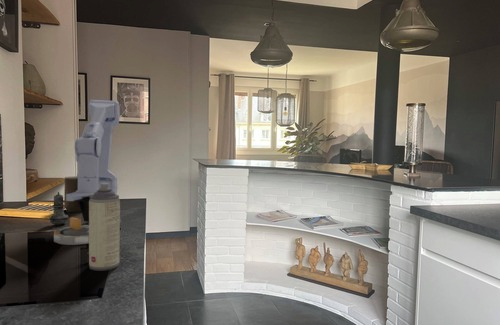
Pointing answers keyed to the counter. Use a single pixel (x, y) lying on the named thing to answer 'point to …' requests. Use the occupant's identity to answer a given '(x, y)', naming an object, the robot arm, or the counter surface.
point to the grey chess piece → (58, 211)
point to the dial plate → (70, 238)
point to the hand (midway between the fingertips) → (88, 221)
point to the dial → (76, 228)
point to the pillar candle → (71, 187)
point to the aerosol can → (104, 229)
